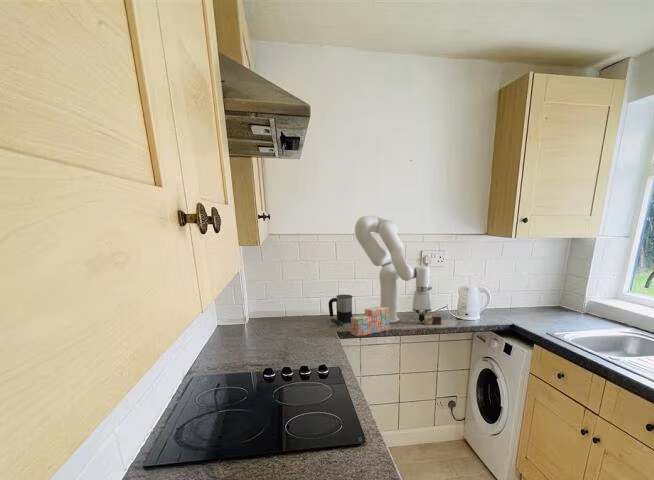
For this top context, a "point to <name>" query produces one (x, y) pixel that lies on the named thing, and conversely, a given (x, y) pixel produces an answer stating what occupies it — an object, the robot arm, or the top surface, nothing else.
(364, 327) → the stack of blocks
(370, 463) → the top surface
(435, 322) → the walnut block
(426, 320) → the birch block
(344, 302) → the milk frother
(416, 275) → the robot arm
